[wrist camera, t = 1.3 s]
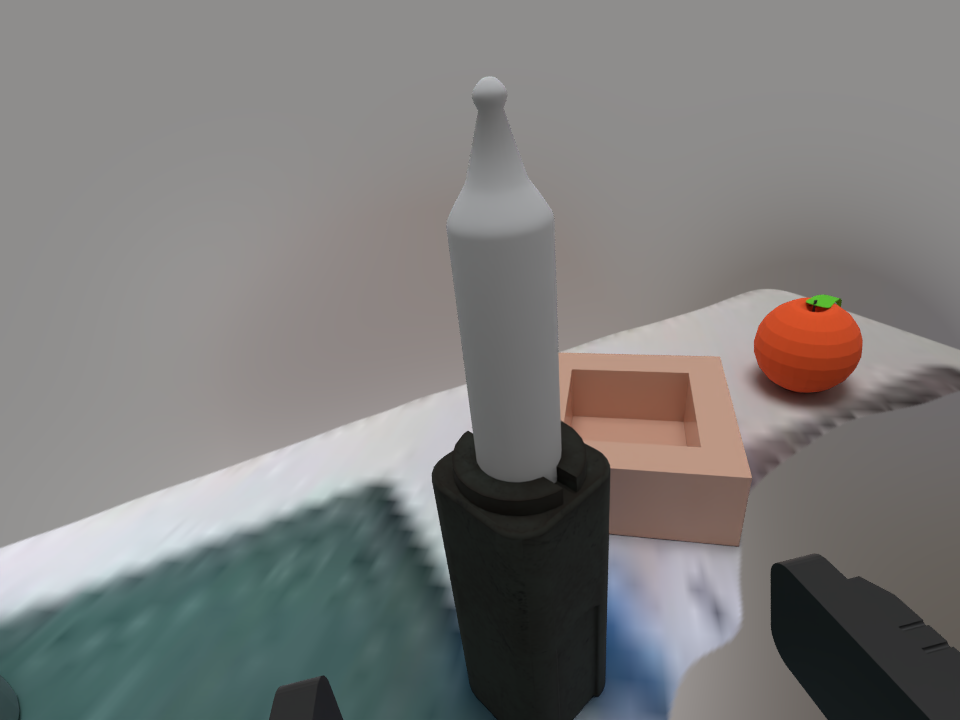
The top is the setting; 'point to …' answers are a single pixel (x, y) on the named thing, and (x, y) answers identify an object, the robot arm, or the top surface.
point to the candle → (519, 454)
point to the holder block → (661, 442)
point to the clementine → (808, 344)
